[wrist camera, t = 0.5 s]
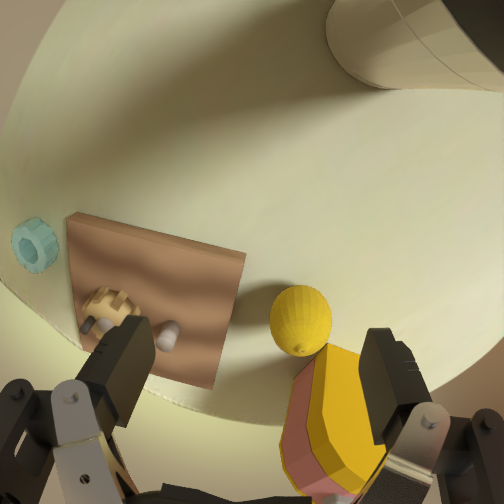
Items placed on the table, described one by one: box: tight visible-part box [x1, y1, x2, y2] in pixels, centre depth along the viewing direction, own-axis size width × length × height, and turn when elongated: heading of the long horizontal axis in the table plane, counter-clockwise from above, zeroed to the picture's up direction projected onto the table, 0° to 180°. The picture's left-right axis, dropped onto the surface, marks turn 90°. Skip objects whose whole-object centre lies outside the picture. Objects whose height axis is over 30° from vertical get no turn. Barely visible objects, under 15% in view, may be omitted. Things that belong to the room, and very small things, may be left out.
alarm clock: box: [279, 343, 386, 504], centre depth 28 cm, size 15×8×18 cm, turn 64°
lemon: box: [269, 285, 332, 357], centre depth 27 cm, size 6×6×8 cm
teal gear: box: [11, 218, 59, 274], centre depth 29 cm, size 6×6×2 cm
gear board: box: [67, 212, 246, 390], centre depth 30 cm, size 19×18×6 cm
